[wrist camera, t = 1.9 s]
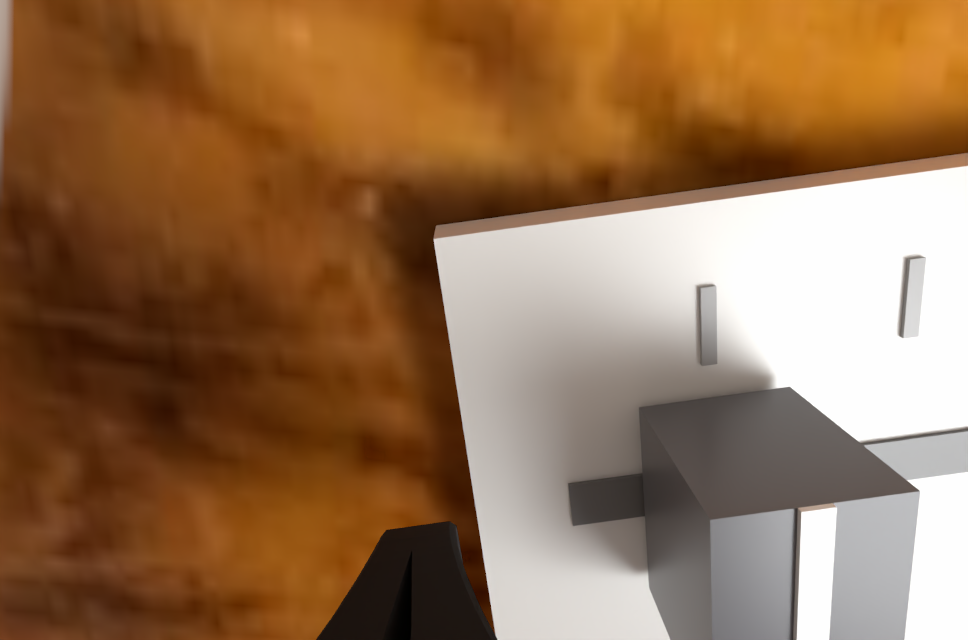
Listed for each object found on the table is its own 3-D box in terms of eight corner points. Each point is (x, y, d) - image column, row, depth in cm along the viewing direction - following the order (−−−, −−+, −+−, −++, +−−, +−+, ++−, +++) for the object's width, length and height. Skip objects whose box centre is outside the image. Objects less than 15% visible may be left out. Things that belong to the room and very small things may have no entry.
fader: (784, 569, 14) (899, 726, 10) (649, 588, 14) (716, 751, 10) (789, 386, 12) (924, 495, 9) (638, 407, 12) (713, 524, 9)
